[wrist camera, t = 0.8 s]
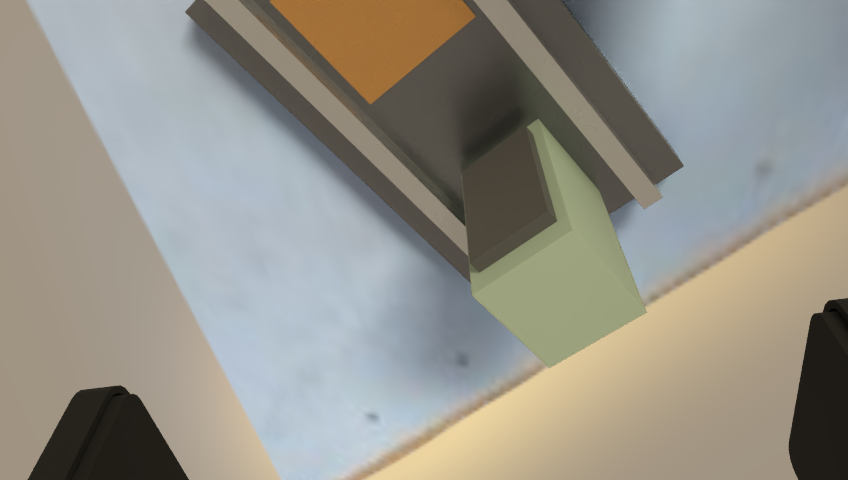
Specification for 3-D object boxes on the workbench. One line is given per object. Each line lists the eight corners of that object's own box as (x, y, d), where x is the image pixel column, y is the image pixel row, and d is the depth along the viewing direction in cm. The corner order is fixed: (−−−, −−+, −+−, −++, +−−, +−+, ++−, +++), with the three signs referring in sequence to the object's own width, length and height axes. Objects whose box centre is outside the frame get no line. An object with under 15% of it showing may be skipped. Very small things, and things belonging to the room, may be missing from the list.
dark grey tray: (401, -215, 26) (399, -211, 24) (674, 151, 35) (691, 178, 33) (194, 1, 31) (176, 21, 29) (481, 278, 39) (485, 309, 37)
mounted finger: (530, 109, 32) (562, 219, 25) (599, 190, 35) (646, 312, 27) (453, 166, 34) (461, 286, 26) (523, 240, 36) (549, 367, 29)
